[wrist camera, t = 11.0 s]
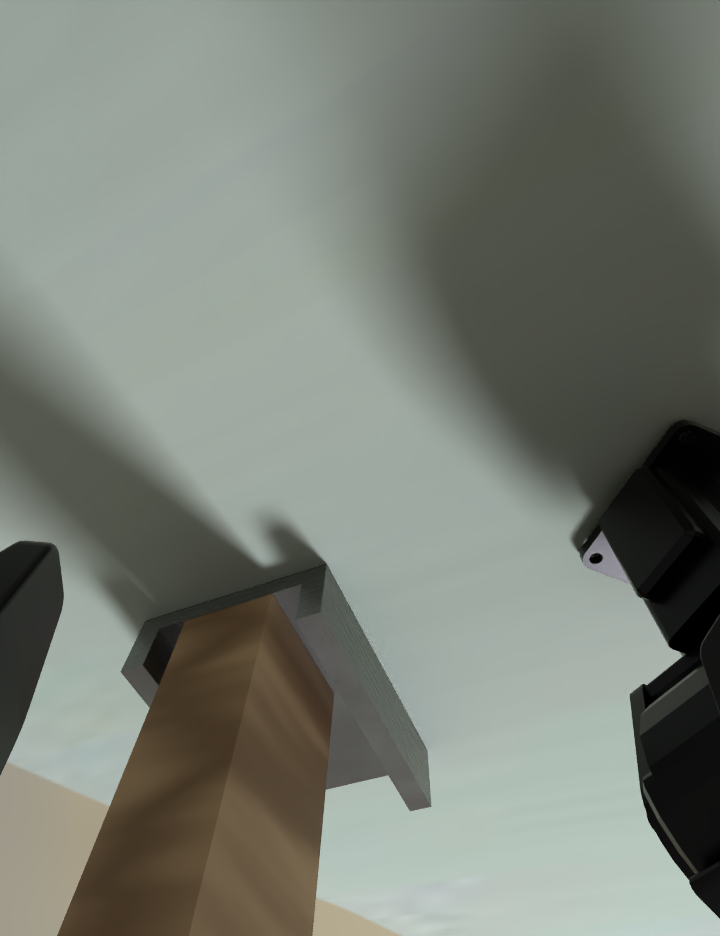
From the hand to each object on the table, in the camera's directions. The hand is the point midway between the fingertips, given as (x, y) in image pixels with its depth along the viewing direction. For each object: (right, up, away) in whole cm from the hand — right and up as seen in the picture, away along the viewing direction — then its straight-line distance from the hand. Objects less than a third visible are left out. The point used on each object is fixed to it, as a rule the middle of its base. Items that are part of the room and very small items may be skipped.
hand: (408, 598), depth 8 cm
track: (-4, -8, +20) cm, 22 cm away
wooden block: (-5, -6, +18) cm, 20 cm away
